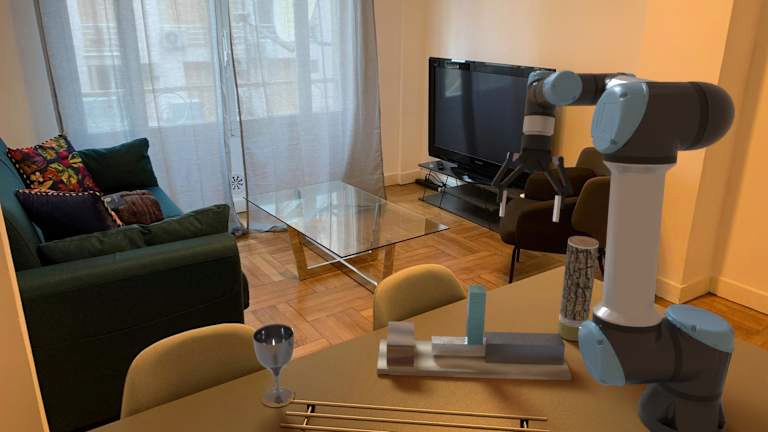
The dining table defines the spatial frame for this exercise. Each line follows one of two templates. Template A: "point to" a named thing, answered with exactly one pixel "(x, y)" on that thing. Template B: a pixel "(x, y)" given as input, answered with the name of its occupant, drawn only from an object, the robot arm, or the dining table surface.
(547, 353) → the steel sleeve
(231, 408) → the dining table surface
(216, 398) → the dining table surface
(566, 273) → the bark log
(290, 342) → the wine glass
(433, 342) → the sliding bolt
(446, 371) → the birch board
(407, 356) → the walnut socket
